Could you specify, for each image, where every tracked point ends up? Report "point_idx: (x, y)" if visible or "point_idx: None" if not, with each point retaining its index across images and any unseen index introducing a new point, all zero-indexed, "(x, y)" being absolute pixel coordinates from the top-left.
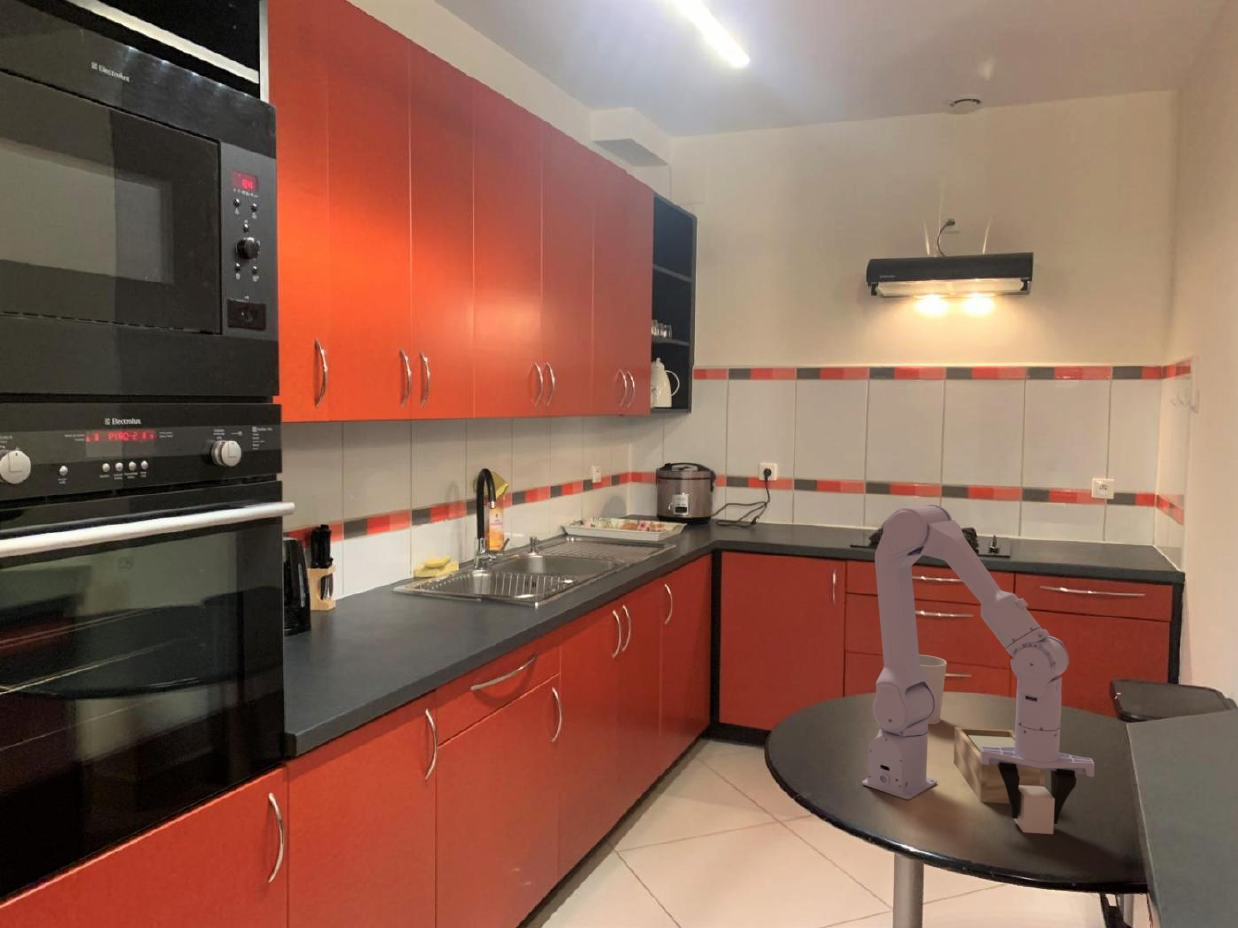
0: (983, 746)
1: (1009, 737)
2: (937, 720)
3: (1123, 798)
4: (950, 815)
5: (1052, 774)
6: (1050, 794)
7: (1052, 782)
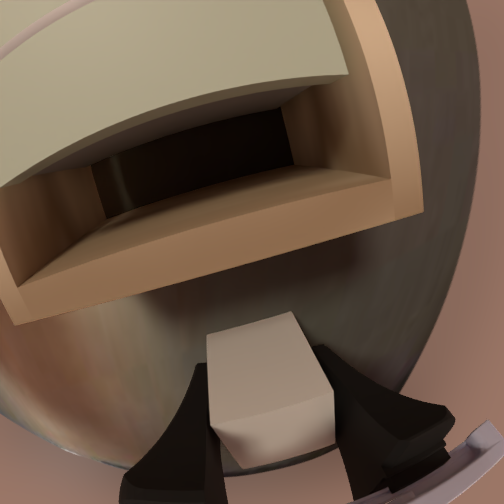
0: (24, 3)
1: None
2: None
3: (480, 88)
4: (61, 362)
5: (376, 452)
6: (332, 430)
7: (362, 433)
